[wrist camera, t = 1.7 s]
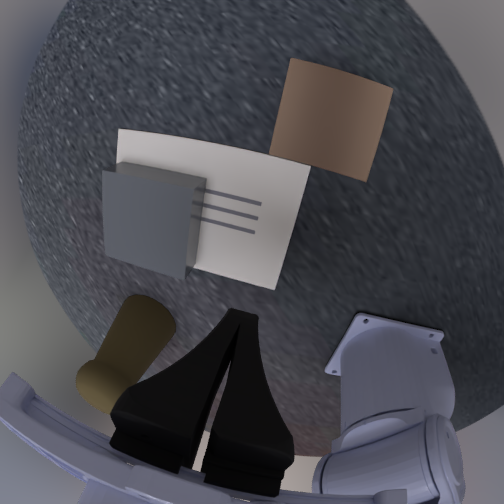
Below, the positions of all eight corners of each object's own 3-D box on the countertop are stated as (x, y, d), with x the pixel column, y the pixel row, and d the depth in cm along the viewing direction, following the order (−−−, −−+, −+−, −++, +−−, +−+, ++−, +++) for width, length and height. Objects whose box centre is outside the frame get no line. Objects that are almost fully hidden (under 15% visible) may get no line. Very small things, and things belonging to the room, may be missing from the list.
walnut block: (367, 92, 15) (393, 88, 10) (349, 157, 17) (366, 182, 12) (296, 71, 15) (290, 57, 10) (281, 137, 18) (268, 154, 13)
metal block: (206, 178, 20) (193, 189, 17) (195, 262, 23) (184, 280, 21) (121, 161, 20) (102, 170, 18) (121, 240, 24) (105, 255, 21)
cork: (118, 289, 27) (54, 368, 17) (172, 301, 26) (115, 396, 17) (129, 332, 30) (80, 408, 20) (179, 345, 29) (136, 433, 20)
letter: (310, 165, 18) (310, 166, 18) (274, 288, 23) (274, 290, 23) (120, 128, 19) (118, 128, 19) (118, 243, 24) (116, 244, 24)
